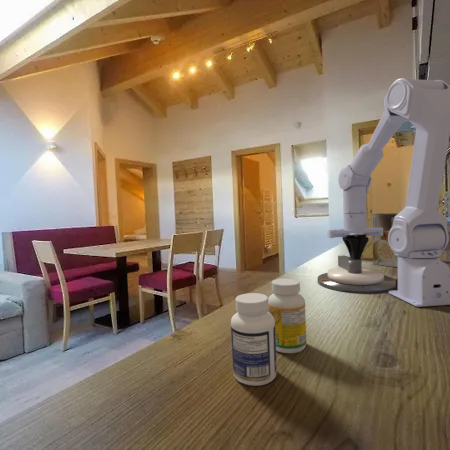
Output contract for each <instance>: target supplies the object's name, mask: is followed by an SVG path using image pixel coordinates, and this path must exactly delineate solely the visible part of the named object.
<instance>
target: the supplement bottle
mask: <svg viewBox="0 0 450 450" xmlns="http://www.w3.org/2000/svg"><path fill="white" fill-rule="evenodd" d="M271 290H272V292H273V293H272V294H271V295H269V296H268V304H269V307H268V310H267V312H269V313H270V314H271V315H272V316H273V317H274V320H275V337H276V352H278V353H282V354H297V353H300V352H302V351H304V349H305V348H307V347H306V346H307V327H306V325H307V323H306V321H307V320H306V317H307V316H306V301H305V300H306V299H305V298H304V297H303V295H301V294H300V291H301V284H300V281H299V280H297V279H292V278H276V279H273V280H272V281H271Z"/></svg>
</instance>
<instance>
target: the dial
mask: <svg viewBox="0 0 450 450" xmlns="http://www.w3.org/2000/svg"><path fill="white" fill-rule="evenodd" d="M362 265H363V263H362V259H360V260H358V259H353V258H350V256H347V255H345V254H338V255H337V266H338V267H333V268H329V269H328V270H327V273H328V279H329V280H331V281H334V282H338V283H343V284H351V285H372V284H378V283H381V282H383V281H384V275H385V274H384V272H383V271H381V270H379V269H375V268H369V267H363V266H362Z"/></svg>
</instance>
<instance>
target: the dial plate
mask: <svg viewBox="0 0 450 450" xmlns="http://www.w3.org/2000/svg"><path fill="white" fill-rule="evenodd" d="M317 284H318V285H319V286H321V287H323V288H326V289H329V290H332V291H338V292H343V293H352V294H353V293H354V294H377V293H380V294H381V293H385V292H389V291H393V290H394V289H396V287H397V285H396V284H397V281H396V280H395V279H394V278H393V277H391V276H388V275H385V274H384V281H383V282H381V283H378V284H372V285H351V284H343V283H338V282H334V281H331V280H329V279H328V272H324V273H322V274H319V275H318V276H317Z"/></svg>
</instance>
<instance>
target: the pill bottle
mask: <svg viewBox="0 0 450 450" xmlns="http://www.w3.org/2000/svg"><path fill="white" fill-rule="evenodd" d="M268 298H269V296H268V295H265V294H263V293H258V292H257V293H256V292H251V293H250V292H249V293H247V292H246V293H242V294H239V295H237V296H236V297H235V310H236V311H237V312H236V313H235V314H233V315H232V317H231V319H230V331H231V332H230V333H231V334H230V335H231V353H232V371H233V373H232V374H233V377H234V378H235V380H236V381H238V382H239V383H242V384H243V385H247V386H254V387H255V386H258V387H259V386H264V385H268V384H269V383H271V382H272V381H273V380H275V378H276V376H277V373H278V372H277V371H278V367H277V351H276V337H275V320H274V317H273V316H272V315H271V314H270V313H269V312H268V307H269V304H268Z"/></svg>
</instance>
